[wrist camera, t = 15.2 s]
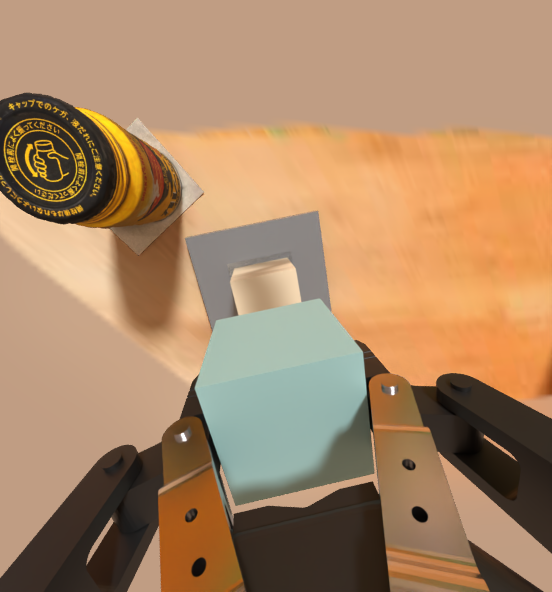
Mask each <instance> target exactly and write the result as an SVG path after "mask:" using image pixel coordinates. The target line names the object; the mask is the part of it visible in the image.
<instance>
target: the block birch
mask: <svg viewBox="0 0 552 592" xmlns="http://www.w3.org/2000/svg"><path fill="white" fill-rule="evenodd" d="M230 284H231V288H232V292H233V296H234V300H235V304H236V307H237V311H238V315H244V314H249V313H253V312H258V311H263V310H267V309H272V308H277V307H281V306H286V305H291V304H295V303H300V302H301V296H300V290H299V285H298V279H297V273H296V268H295V267H294V266H293V264H292V263H291V262H290V260H289V259H288V258H282V259H277V260H272V261H268V262H263V263H258V264H253V265H248V266H243V267H238V268H234V271H233V274H232V277H231V281H230Z"/></svg>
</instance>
